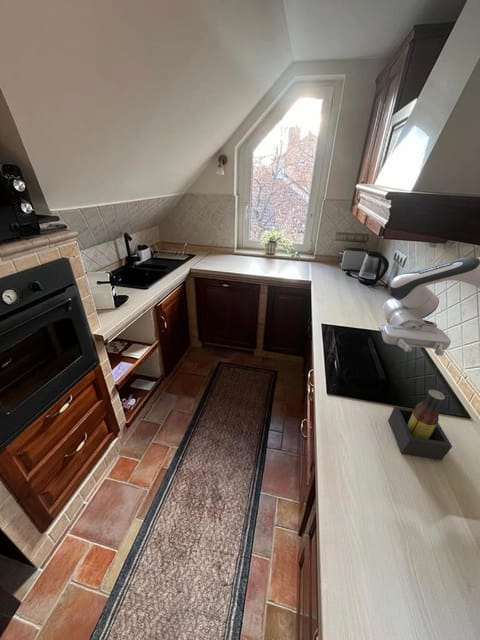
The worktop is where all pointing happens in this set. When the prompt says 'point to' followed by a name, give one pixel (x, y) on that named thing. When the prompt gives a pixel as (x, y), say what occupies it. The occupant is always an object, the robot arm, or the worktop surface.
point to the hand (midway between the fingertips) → (424, 352)
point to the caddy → (415, 446)
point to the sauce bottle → (426, 415)
